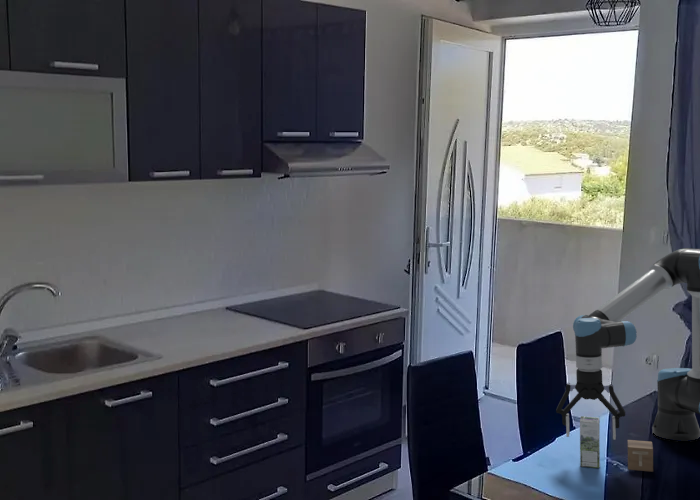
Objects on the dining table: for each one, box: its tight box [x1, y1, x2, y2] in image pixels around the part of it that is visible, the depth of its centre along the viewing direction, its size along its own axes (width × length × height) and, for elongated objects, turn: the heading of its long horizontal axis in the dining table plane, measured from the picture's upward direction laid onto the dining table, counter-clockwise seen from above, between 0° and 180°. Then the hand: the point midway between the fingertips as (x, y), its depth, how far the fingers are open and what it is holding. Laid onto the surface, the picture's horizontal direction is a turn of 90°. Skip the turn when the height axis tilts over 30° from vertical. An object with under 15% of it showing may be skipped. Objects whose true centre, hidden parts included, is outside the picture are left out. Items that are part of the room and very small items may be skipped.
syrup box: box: [579, 416, 601, 469], centre depth 227 cm, size 6×6×14 cm
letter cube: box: [627, 439, 654, 473], centre depth 224 cm, size 7×7×7 cm
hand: (590, 436), depth 227 cm, fingers open, 13 cm apart
